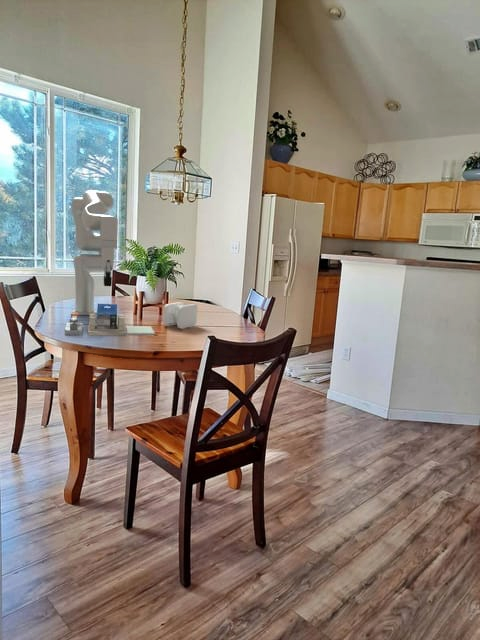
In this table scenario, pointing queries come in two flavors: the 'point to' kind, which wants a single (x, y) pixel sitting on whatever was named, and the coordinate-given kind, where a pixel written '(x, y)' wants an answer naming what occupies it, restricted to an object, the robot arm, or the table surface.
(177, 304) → the cable organizer
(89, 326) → the holder
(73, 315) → the lever
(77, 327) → the base
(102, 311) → the blue box
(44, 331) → the table surface
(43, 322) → the table surface
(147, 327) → the tray
